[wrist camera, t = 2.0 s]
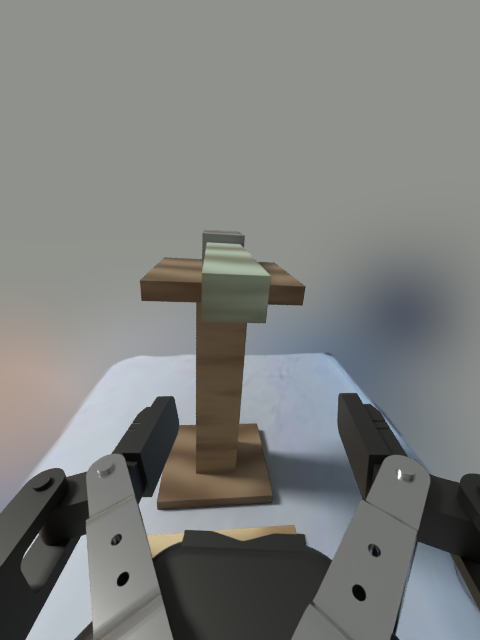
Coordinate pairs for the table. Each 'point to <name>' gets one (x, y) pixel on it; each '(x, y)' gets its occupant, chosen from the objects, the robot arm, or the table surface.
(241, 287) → the sanding stick
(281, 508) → the table surface
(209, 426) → the shelf stand
